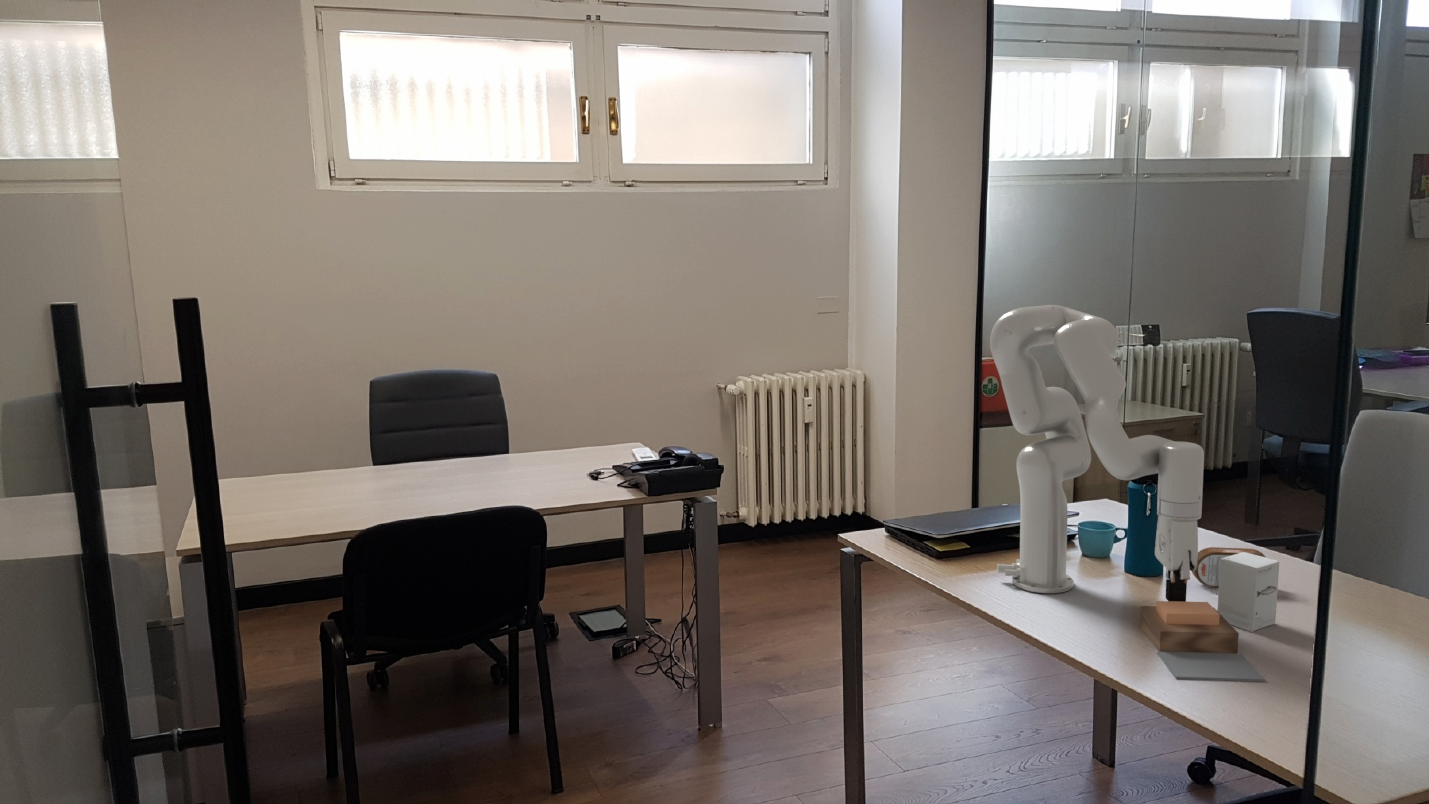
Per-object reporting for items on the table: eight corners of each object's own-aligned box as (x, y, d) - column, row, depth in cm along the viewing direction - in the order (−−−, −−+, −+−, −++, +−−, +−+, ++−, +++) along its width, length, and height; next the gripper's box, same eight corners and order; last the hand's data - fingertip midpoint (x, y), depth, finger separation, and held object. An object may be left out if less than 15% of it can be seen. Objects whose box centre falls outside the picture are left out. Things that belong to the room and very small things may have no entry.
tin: (1266, 586, 198) (1269, 547, 197) (1272, 591, 195) (1274, 552, 193) (1189, 583, 201) (1191, 545, 200) (1193, 588, 198) (1195, 550, 197)
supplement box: (1252, 633, 175) (1256, 568, 173) (1215, 619, 182) (1218, 557, 180) (1277, 624, 178) (1281, 560, 176) (1239, 611, 185) (1243, 550, 183)
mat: (1175, 678, 158) (1175, 676, 158) (1157, 653, 168) (1157, 651, 168) (1265, 681, 156) (1265, 679, 156) (1241, 655, 166) (1241, 653, 166)
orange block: (1166, 623, 171) (1166, 613, 171) (1155, 611, 177) (1156, 600, 176) (1219, 624, 170) (1219, 614, 169) (1207, 612, 175) (1207, 601, 175)
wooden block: (1159, 652, 168) (1160, 631, 168) (1140, 625, 180) (1140, 605, 180) (1237, 654, 166) (1238, 633, 166) (1212, 627, 178) (1213, 607, 178)
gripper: (1146, 497, 185) (1143, 586, 187) (1171, 519, 170) (1167, 615, 173) (1186, 497, 183) (1183, 587, 186) (1215, 519, 169) (1211, 616, 172)
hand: (1175, 600), depth 180 cm, fingers closed
